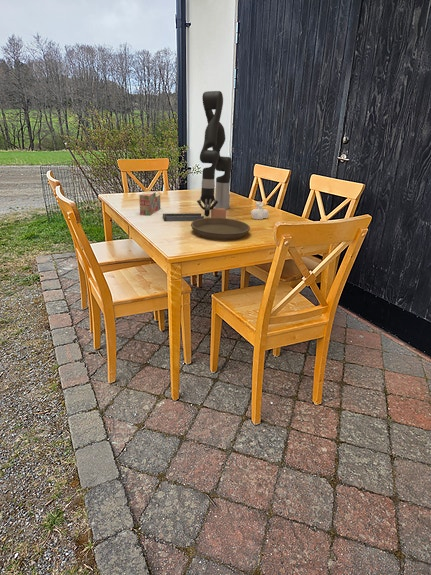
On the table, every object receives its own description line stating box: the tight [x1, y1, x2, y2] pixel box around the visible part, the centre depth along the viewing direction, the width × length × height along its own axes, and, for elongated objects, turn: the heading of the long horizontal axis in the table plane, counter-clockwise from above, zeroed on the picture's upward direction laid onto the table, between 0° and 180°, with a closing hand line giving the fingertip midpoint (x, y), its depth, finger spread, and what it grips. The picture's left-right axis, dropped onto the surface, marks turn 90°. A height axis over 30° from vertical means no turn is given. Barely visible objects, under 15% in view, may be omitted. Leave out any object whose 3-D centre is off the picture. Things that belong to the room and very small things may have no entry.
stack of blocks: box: [138, 190, 161, 216], centre depth 227 cm, size 21×6×12 cm, turn 170°
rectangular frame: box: [162, 212, 205, 222], centre depth 215 cm, size 23×8×2 cm, turn 104°
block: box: [210, 207, 227, 219], centre depth 219 cm, size 8×4×6 cm, turn 105°
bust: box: [250, 200, 270, 220], centre depth 226 cm, size 12×8×11 cm
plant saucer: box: [190, 217, 251, 241], centre depth 192 cm, size 31×31×5 cm
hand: (206, 216), depth 218 cm, fingers closed
